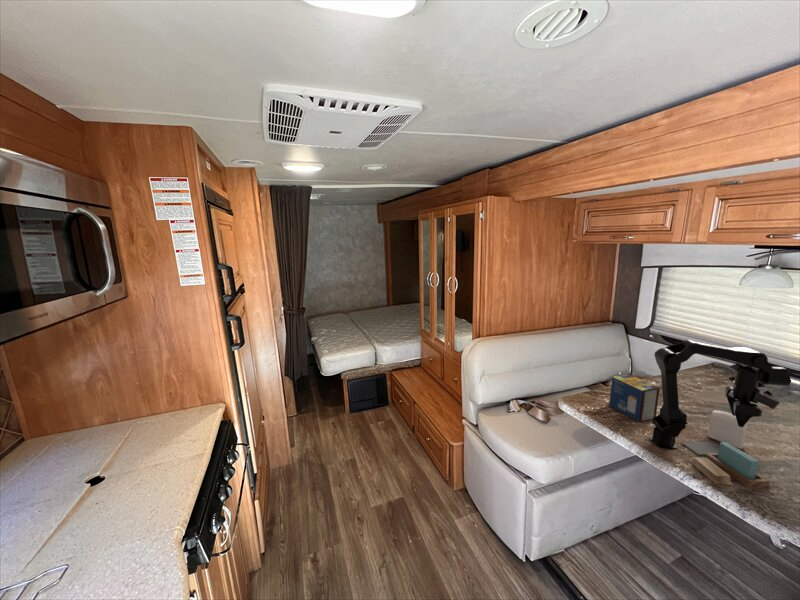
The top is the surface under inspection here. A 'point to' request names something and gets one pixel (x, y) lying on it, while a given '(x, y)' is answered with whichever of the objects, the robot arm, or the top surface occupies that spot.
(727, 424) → the photo printer
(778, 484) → the top surface
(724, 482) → the offcut stack
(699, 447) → the charcoal mat
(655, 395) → the protein box
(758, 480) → the walnut rack
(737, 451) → the teal block
